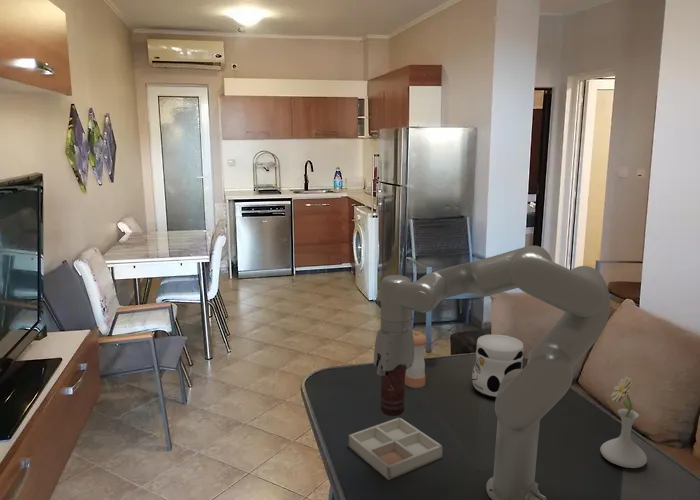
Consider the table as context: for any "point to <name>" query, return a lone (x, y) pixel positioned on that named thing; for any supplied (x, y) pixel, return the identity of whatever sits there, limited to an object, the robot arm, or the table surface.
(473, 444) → the table surface
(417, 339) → the pepper shaker
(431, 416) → the table surface
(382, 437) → the divided tray
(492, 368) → the milk container
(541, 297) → the robot arm
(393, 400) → the can
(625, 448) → the flower in vase
